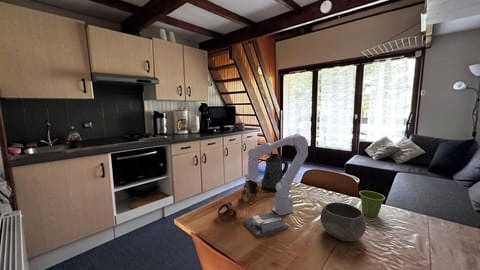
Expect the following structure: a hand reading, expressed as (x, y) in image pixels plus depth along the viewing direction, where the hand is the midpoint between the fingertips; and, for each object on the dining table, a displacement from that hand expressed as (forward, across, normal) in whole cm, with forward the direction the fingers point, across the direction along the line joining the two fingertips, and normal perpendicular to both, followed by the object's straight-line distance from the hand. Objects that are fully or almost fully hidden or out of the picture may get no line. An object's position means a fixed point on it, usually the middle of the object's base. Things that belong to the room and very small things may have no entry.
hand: (252, 193), depth 114 cm
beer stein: (+10, -23, +31) cm, 40 cm away
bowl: (+10, +38, +24) cm, 46 cm away
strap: (+8, +18, -1) cm, 20 cm away
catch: (+8, +16, -7) cm, 20 cm away
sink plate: (+10, +16, -2) cm, 19 cm away
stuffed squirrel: (+10, -12, +5) cm, 17 cm away
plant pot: (+10, +32, +55) cm, 64 cm away
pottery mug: (+10, 0, -15) cm, 18 cm away
